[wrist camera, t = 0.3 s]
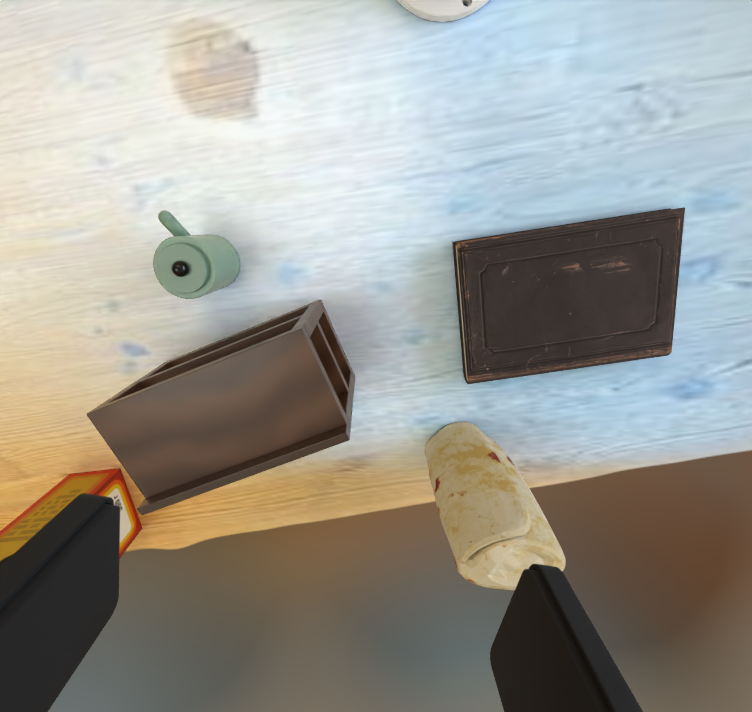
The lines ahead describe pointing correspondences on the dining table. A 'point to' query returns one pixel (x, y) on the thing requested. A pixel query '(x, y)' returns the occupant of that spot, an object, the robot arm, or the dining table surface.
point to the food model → (487, 509)
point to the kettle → (193, 261)
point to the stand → (232, 408)
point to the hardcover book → (568, 295)
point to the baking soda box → (61, 496)
